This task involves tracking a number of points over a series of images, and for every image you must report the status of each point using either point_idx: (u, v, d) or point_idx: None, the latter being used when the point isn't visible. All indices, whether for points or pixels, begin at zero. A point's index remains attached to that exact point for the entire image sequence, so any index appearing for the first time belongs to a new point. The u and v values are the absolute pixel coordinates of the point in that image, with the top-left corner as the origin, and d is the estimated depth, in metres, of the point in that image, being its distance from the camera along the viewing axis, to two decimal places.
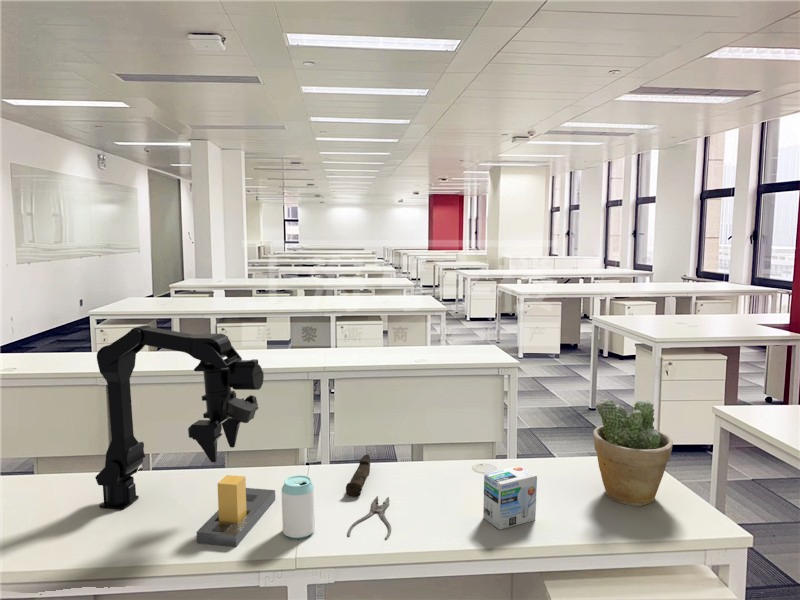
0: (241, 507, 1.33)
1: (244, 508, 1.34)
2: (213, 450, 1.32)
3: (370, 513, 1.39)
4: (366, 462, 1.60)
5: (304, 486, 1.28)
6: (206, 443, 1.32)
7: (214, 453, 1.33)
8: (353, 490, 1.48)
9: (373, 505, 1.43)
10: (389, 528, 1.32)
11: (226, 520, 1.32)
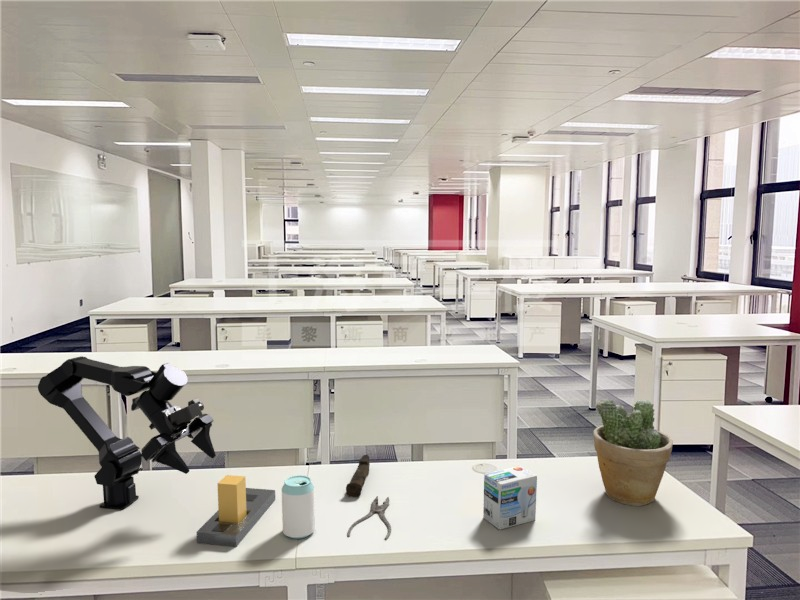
0: (241, 507, 1.33)
1: (244, 508, 1.34)
2: (177, 461, 1.30)
3: (370, 513, 1.39)
4: (365, 462, 1.60)
5: (304, 486, 1.28)
6: (169, 459, 1.31)
7: (180, 463, 1.30)
8: (354, 491, 1.48)
9: (373, 505, 1.43)
10: (389, 528, 1.32)
11: (226, 520, 1.32)
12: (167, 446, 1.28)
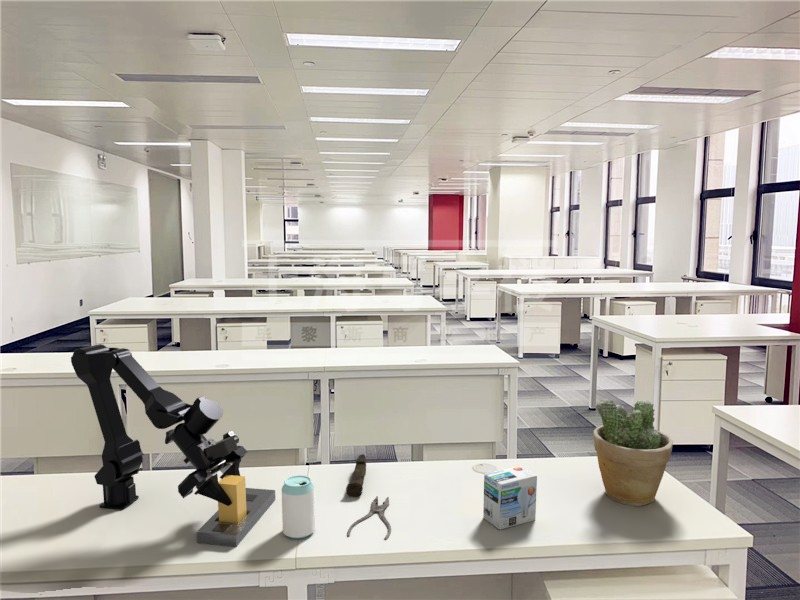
0: (241, 507, 1.33)
1: (244, 508, 1.34)
2: (220, 493, 1.29)
3: (370, 513, 1.39)
4: (363, 462, 1.60)
5: (304, 486, 1.28)
6: (211, 491, 1.30)
7: (223, 495, 1.30)
8: (354, 491, 1.48)
9: (372, 505, 1.43)
10: (389, 528, 1.32)
11: (226, 520, 1.32)
12: (210, 479, 1.28)
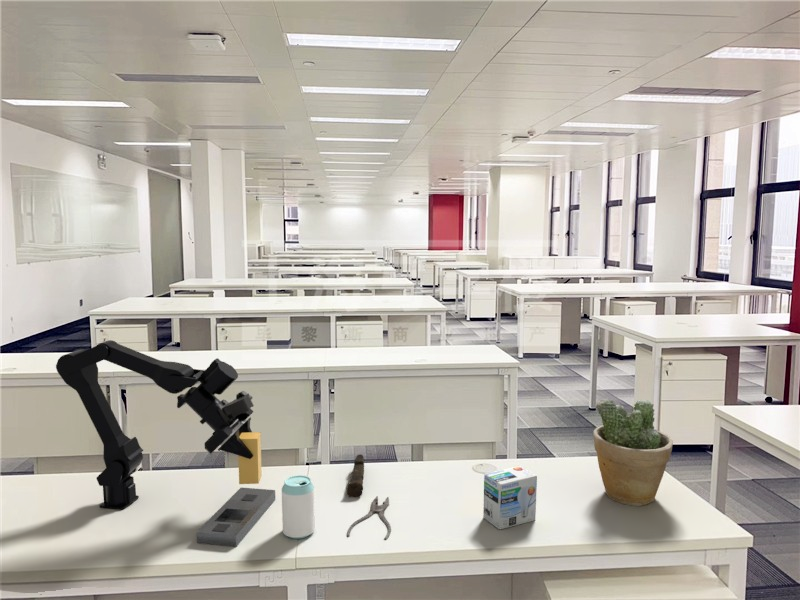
0: (259, 461, 1.42)
1: (260, 462, 1.43)
2: (242, 447, 1.38)
3: (370, 513, 1.39)
4: (361, 462, 1.61)
5: (304, 486, 1.28)
6: (233, 446, 1.38)
7: (245, 449, 1.38)
8: (355, 490, 1.48)
9: (372, 505, 1.43)
10: (389, 528, 1.32)
11: (246, 473, 1.40)
12: (235, 434, 1.35)
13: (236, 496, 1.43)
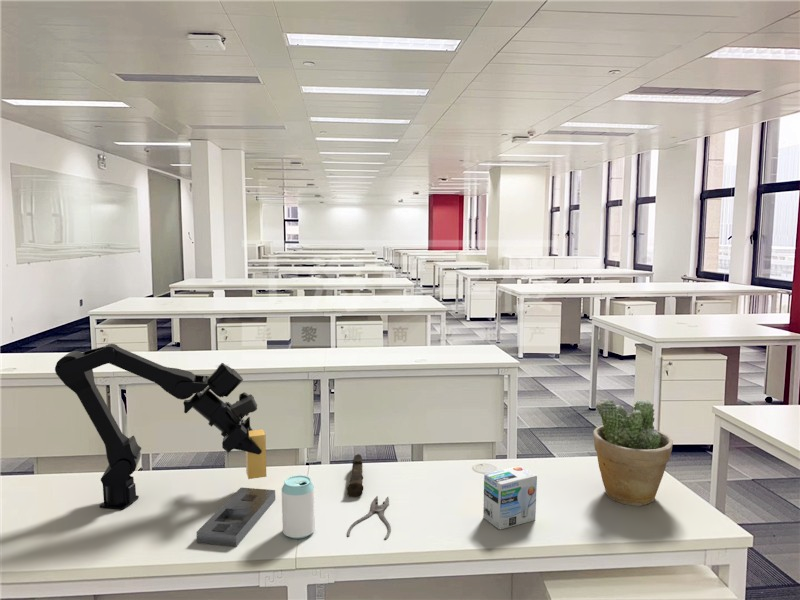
0: None
1: None
2: (253, 444, 1.48)
3: (370, 513, 1.39)
4: (360, 462, 1.61)
5: (304, 486, 1.28)
6: (244, 444, 1.47)
7: (255, 445, 1.48)
8: (355, 491, 1.48)
9: (372, 505, 1.43)
10: (389, 528, 1.32)
11: (255, 468, 1.50)
12: (248, 432, 1.45)
13: (236, 496, 1.43)
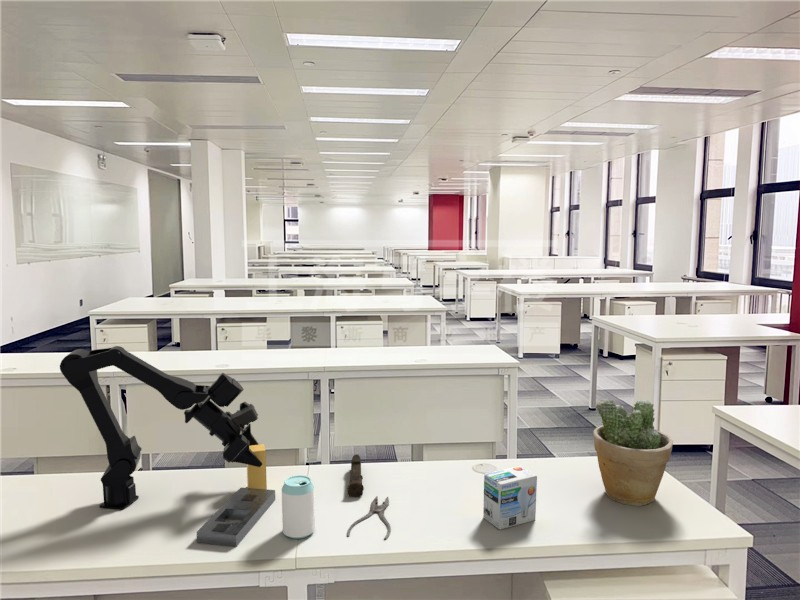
0: None
1: None
2: (253, 456, 1.46)
3: (370, 513, 1.39)
4: (358, 462, 1.61)
5: (304, 486, 1.28)
6: (244, 457, 1.45)
7: (256, 458, 1.47)
8: (356, 491, 1.48)
9: (372, 505, 1.43)
10: (389, 528, 1.32)
11: (255, 483, 1.50)
12: (248, 444, 1.44)
13: (236, 496, 1.43)
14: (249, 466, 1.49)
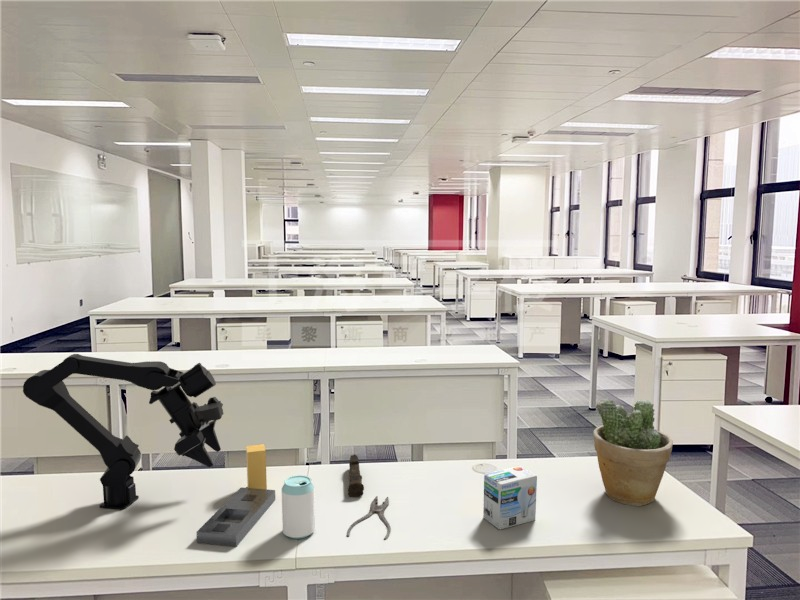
0: None
1: None
2: (205, 455, 1.42)
3: (369, 513, 1.39)
4: (357, 462, 1.60)
5: (304, 486, 1.28)
6: (196, 453, 1.42)
7: (208, 458, 1.42)
8: (356, 491, 1.48)
9: (372, 505, 1.43)
10: (389, 528, 1.32)
11: (255, 483, 1.50)
12: (203, 443, 1.40)
13: (236, 496, 1.43)
14: (249, 466, 1.49)
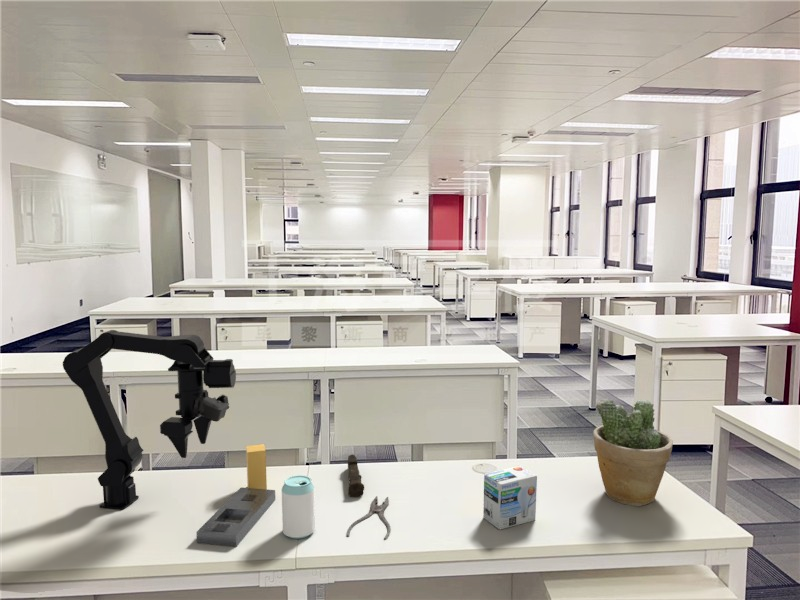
0: None
1: None
2: (183, 446, 1.38)
3: (369, 513, 1.39)
4: (355, 462, 1.60)
5: (304, 486, 1.28)
6: (177, 439, 1.38)
7: (184, 449, 1.39)
8: (356, 491, 1.48)
9: (372, 505, 1.43)
10: (389, 528, 1.32)
11: (255, 483, 1.50)
12: (187, 435, 1.36)
13: (236, 496, 1.43)
14: (249, 466, 1.49)
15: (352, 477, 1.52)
